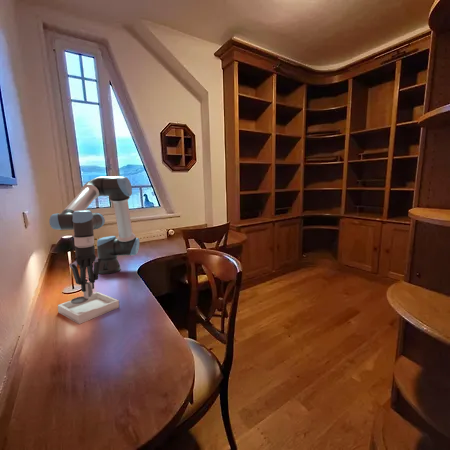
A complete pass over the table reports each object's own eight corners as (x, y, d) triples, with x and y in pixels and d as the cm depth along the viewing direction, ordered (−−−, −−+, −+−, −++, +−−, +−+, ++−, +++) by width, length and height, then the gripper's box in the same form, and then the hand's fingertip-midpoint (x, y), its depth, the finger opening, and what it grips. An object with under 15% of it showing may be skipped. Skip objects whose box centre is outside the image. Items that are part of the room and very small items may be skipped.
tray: (97, 298, 126) (97, 291, 126) (119, 307, 116) (118, 300, 116) (58, 312, 111) (57, 305, 111) (79, 324, 101) (78, 316, 101)
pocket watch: (67, 304, 107) (65, 282, 106) (79, 296, 115) (77, 275, 114) (86, 304, 107) (85, 282, 106) (96, 296, 115) (95, 275, 114)
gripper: (71, 249, 102) (76, 305, 105) (105, 244, 114) (108, 293, 117) (63, 247, 106) (67, 300, 109) (96, 242, 118) (99, 290, 121)
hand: (88, 297), depth 113 cm, fingers closed on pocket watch
